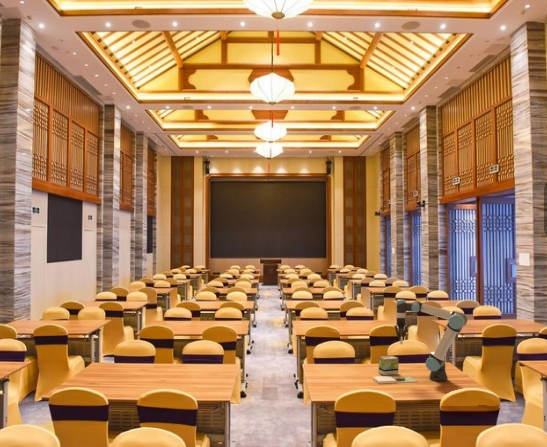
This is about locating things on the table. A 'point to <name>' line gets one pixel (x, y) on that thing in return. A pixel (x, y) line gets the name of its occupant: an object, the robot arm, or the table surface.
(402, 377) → the name block
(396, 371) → the tea box
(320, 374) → the table surface
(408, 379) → the mat
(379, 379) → the stand
